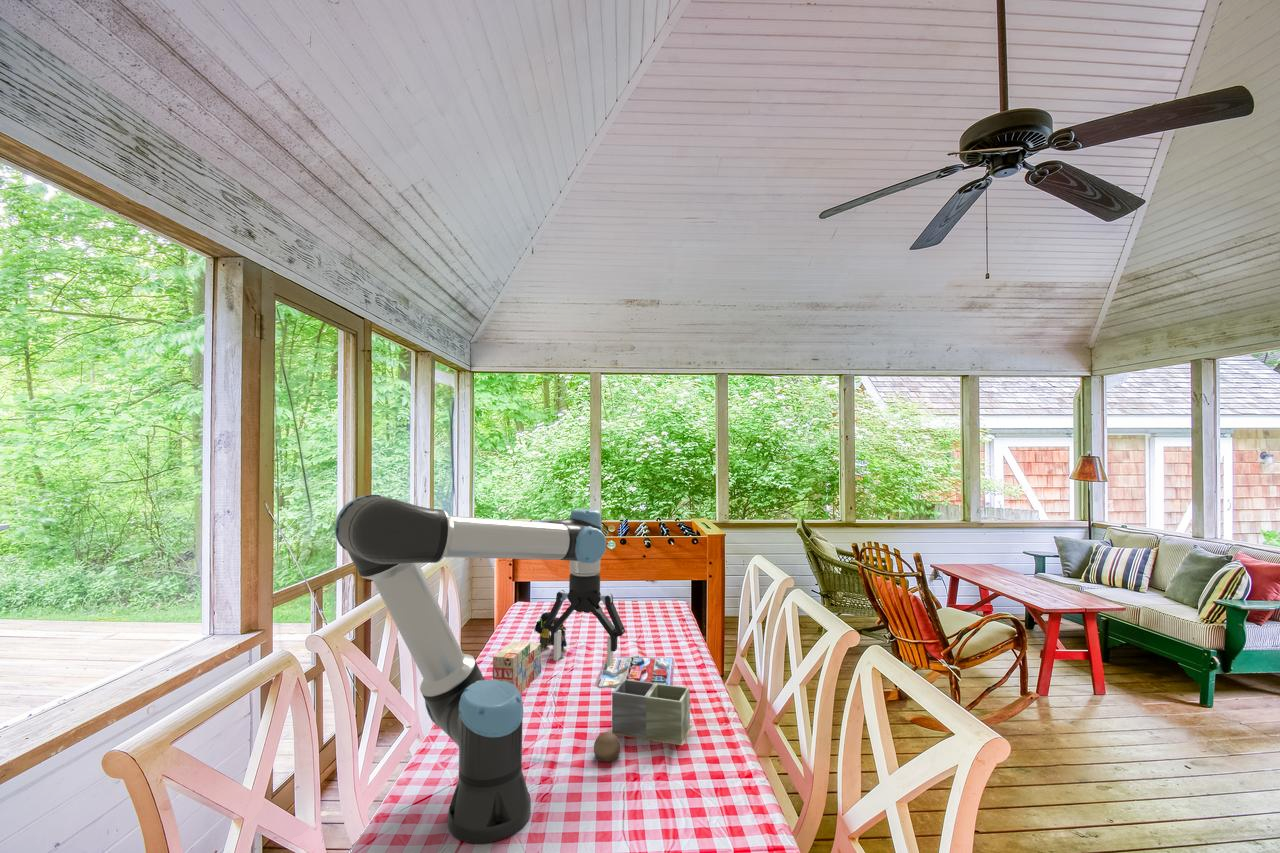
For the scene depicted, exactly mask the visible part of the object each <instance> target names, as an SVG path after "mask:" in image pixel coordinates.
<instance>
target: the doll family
mask: <svg viewBox="0 0 1280 853" xmlns="http://www.w3.org/2000/svg"><path fill="white" fill-rule="evenodd" d="M550 612H551V611H549V612H548V611H546V612H542V614H541V616H540V618H539V620H537V621H534V620H533V623H536V624H535V626H533V627H532V628H531V629H533V632H536V633H537V634H539V643H541V651H549V650H550V649H551V648H550V647H549V646H553V649H554V645H551V632H550V630H548V629H544V624H545V622H546V620H547V618H548V616H549V614H550ZM559 618H560V617H556V618H555V620H554V622H553V624H555V623H556V621H557V620H558V619H559ZM568 628H569V626H565V625H564V623H563V624H562V625H561V626H560V627H559V629H558V630H561V657H560V658H559V659H558V660H564V659H565V656H564V655H563V654H565V653H568V650H567V649H566V647H568V646H567V640H566V635H567V633H566V631H567V629H568Z"/></svg>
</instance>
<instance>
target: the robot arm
mask: <svg viewBox="0 0 1280 853" xmlns="http://www.w3.org/2000/svg"><path fill="white" fill-rule="evenodd" d="M334 534H335V537H336V538H335V539H336V541H337V542H338V544H339V546H340V547H341V548H342V549H343V550H345V551H347V553H348V555H349V557H350V559H351V561H352V563H353V564H354V567H355V568H356V570H357V572H358V574H359V576H360V578H362V579H367V580H371V581H373V584H374V585H375V588H376V589H377V591H378V593H379V595H380V597H381V600H382V601H383V602H384V605H385V607H386V609H387V610H388V612H389V614H390V616H391V618H392V620H393V622H394V624H395V626H396V628H397V630H398V632H399V634H400V636H401V637H402V640H403V641H404V644H405V645H406V648H407V649H408V651H409V653H410V655H411V657H412V659H413V661H414V663H415V664H416V666H417V669H418V671H419V672H420V674H421V677H422V678H423V679H422V681H421V684H420V686H419V691H420V693H421V695H422V697H423V698H424V704H425V705H424V706H425V709H426V711H427V715H428V716H429V718H430V720H431V721H432V722H433V723H434V724H435V725H436V726H437V727H438V728H440V729H441V730H442V731H443V732H444V734H446V735H447V736H448V737H449V738H450V739H451V740H452V741H453V743H454V744H456V745H457V746H458V779H457V783H456V787H455V790H454V792H453V795H452V798H451V801H450V804H449V808H448V812H447V813H448V817H447V826H448V830H449V833H451V835H452V836H454V837H455V838H456V839H457V840H460V841H463V842H465V843H472V844H487V843H493V842H496V841H500V840H504V839H506V838H508V837H510V836H512V835H514V834H516V833H517V832H519V831H520V830H521V829H522V828H524V826H525V825H526V824H527V823H528V821H529V819H530V816H531V813H532V811H531V810H532V809H531V807H532V806H531V805H532V800H531V795H530V792H529V790H528V787H527V786H528V785H527V783H526V779H525V775H524V773H523V769H522V768H523V765H522V764H523V720H524V719H523V718H524V706H523V697H522V693H520V691H519V690H518V689H517V687H515V686H514V685H513V684H511V683H509V682H506V681H502V682H499V680H493V679H485V678H484V676H483V673H482V671H481V670H480V667H479V665H478V663H477V662H476V660H475V658H474V656H473V655H471V654H466V653H463V651H462V648H461V646H460V645H459V642H458V640H457V639H456V637H455V635H454V632H453V630H452V627H451V626H450V624H449V622H448V621H447V619H446V616H445V614H444V612H443V610H442V608H441V606H440V603H439V602H438V600H437V597H436V596H435V594H434V592H433V590H432V588H431V586H430V584H429V581H428V579H427V577H426V576H425V573H424V571H423V569H422V567H421V565H420V564H425V563H426V564H428V563H430V564H437V563H439V562H441V561H442V560H443V559H444V558H460V559H461V558H463V559H471V558H472V559H500V560H501V559H509V560H547V561H548V560H550V561H552V560H554V561H555V560H556V561H557V560H558V561H569V572H570V574H569V580H568V582H569V583H568V584H569V585H568V588H569V591H568V592H567V591H565V590H564V589H562V590H560V591H558V592H556V598H555V601H554V604H553V606H552V608H551V610H550V611H549V612H550V614H549V616H548V618H547V620H546V622H545V624H544V629H548V630H550V635H551V645H550V646H553V645H554V648H553V661H558V660H560V659H559V658H560V657H561V630H558V629H559V627H560V626H561V625H562V624H563V625H564V622H566V621H567V619H568V618H569V617H570V616H571V614H573V612H574V611H576V613H585V614H589V613H592V614H593V616H595V617H596V619H597V620H598V621H599V623H600V624H601V626H602V627H603V628H604V630H605V631H606V632H607V634H608V635H609V636H608V637H607V640H606V646H607V647H606V657H607V666H609V667H610V666H611V665H612V664H613V657H614V652H616V651H617V649H618V638H619V637H622V636H623V635H624V634H625V633H626V628H625V626H624V624H623V621H622V619H621V617H620V615H619V612H618V611H617V608H616V606H615V603H614V597H613V596H614V595H613V594H612V593H609V594H603V595H602V594H601V575H600V572H601V559H602V558H603V556H604V555H605V553H606V549H607V539H606V538H607V537H606V536H605V534H604V533H603V532H602V515H601V512H600V511H599V510H597V509H592V508H575V509H573V510H571V511H570V515H569V518H565V519H548V520H542V519H540V520H537V521H525V520H524V521H523V520H514V519H513V520H510V519H496V518H487V517H486V518H484V517H483V518H482V517H473V516H471V517H470V516H458V515H457V516H456V515H449V513H448V512H447V511H446V510H444V509H441V508H427V507H423V506H419V505H416V504H412V503H409V502H405V501H402V500H399V499H396V498H389V497H386V496H384V495H380V494H367V495H362V496H358V497H356V498H353V499H352V500H350V501H349V502H347V503H346V504H344V506H343V507H342V508H341V509H340V511H339V513H338V514H337V516H336V519H335V522H334ZM566 600H568V601H569V603H570V605H568V607H567V608H566V609H565V611H564V612H563V613H562V615H561V616H559V617H558V618H559V619H558V620H557V621H556V623H555V624H553V622H554V620H555V618H557V616H558V613H559V611H560V609H561V607H562V606H563V604H564V601H566ZM601 601H602V603H603V604H604V605H605V609H606V611H607V613H608V615H609V618H610V619H609V618H608V615H607V614H605V612H604V610H603V608H602V607H601V605H600V602H601ZM610 620H611V621H610Z"/></svg>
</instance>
